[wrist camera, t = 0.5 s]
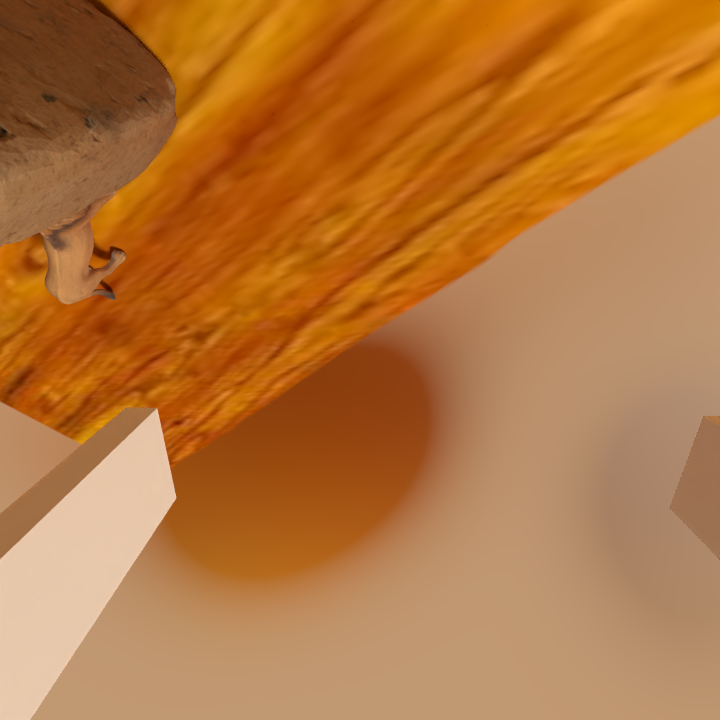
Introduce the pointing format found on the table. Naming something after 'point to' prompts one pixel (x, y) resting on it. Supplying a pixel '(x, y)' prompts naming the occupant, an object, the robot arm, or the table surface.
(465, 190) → the table surface
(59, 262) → the lion figurine
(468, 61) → the table surface
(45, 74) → the brown rough block
